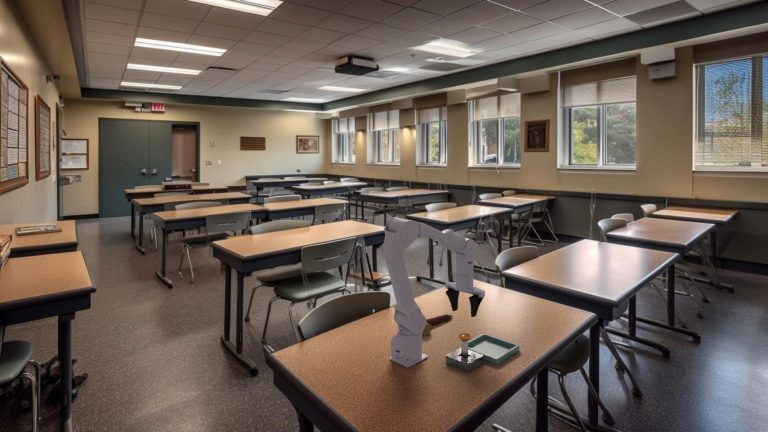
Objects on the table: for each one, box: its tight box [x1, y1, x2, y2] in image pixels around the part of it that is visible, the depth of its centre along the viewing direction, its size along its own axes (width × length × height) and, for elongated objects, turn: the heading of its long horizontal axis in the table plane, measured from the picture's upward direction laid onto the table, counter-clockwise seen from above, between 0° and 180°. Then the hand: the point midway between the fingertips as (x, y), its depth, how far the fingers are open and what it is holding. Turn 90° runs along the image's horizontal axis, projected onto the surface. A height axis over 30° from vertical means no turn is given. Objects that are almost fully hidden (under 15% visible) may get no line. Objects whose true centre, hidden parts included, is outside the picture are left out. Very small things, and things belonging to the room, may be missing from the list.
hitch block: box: [445, 347, 485, 373], centre depth 124 cm, size 8×8×2 cm
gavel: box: [422, 314, 453, 337], centre depth 154 cm, size 21×5×10 cm
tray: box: [459, 333, 520, 367], centre depth 132 cm, size 13×13×2 cm
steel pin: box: [458, 332, 472, 358], centre depth 124 cm, size 3×3×9 cm
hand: (464, 313), depth 138 cm, fingers open, 7 cm apart
